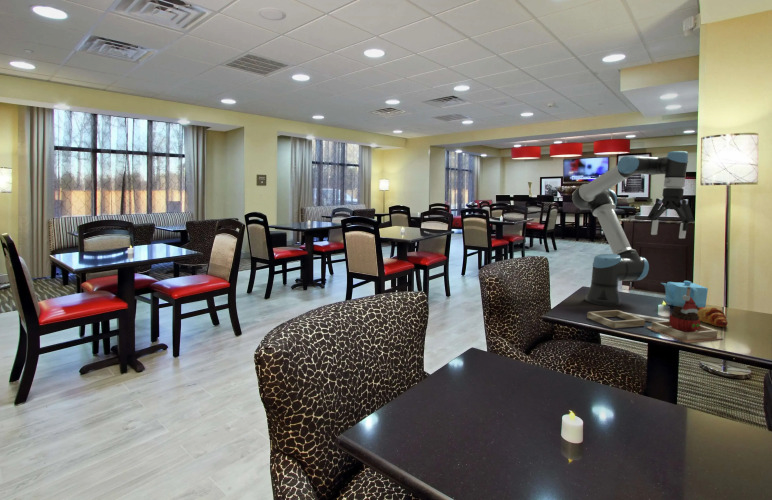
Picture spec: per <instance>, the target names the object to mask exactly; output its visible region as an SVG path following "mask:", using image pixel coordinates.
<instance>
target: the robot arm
mask: <svg viewBox="0 0 772 500" xmlns="http://www.w3.org/2000/svg"><path fill="white" fill-rule="evenodd" d="M688 160H689V153H688V151H683V150H677V151H675V150H674V151H669V152H667V155H666V156H662V157H660V156H659V157H654V156H652V157H651V156H636V155H635V156H634V155H628V156H627V155H625V156H622V157H620V158H619V161H618V162H617V165H615V166H614V167H613V168H610V169H609V170H608V171H606V172H604V173H603V174H601V175H599V176H598V177H596V178H595V179H593V180H592V181H590V182H588V183H583V184H581V185H579V186H578V187H577V188H576V189H575V190H574V191H573V193H572V194H571V196H572V197H571V200H572V202H573V205H574V206H575V207H576V208H578V209H579V210H590V212H591V214H592V216H593V217H596V218H597V219H598V222H599V224H600V226H601V229H602V230H603V234H604V236H605V238H606V240H607V243H608V245H609V247H610V250H611V252H612V253H601V254H597V255H595V256H594V258H593V263H592V272H591V282H590V287H588V288H589V289H588V292H587V293H586V295H585V301H586V302H587V303H590V304H593V305H598V306H607V307H617V306H620V305H621V297H620V292H619V290H618V289H619V288H618V287H619V282H625V281H626V282H628V281H629V282H630V281H631V282H635V281H641V280H643V279H645V278H646V277H647V275H648V273H649V270H650V264H649V261H648V260H647V258H646V257H643V256H639V253H638V251H637V250H636V249H633V248H632V246H631V245H630V241H629V240H628V238H627V235H626V233H625V231H624V229H623V227H622V225H621V223H620V220H619V218H618V216H617V215H618V214H616V208H617V204H618V201H617V200H618V196H617V194H616V192H615V191H614V190H612V189H611V188H613V187H614V186H616V185H618V184H620V183H621V182H623V181H625V180H626V179H629V178H630V177H633V176H634V175H637V174H638V175H649V176H650V175H651V176H654V175H664V181H663V187H664V188H663V189H662V197H663V198H657V197H656V199H655V201H654V204H653V206H652V208H651V209H650V212H649V214H648V216H647V219H649V220H650V227H651V229H650V231H651V232H650V235H652V236H656V235H658V230H659V229H658V228H659V218H660V217H661V216H662V214H664V213H665V212H666V211H667V210H674V211H675V212H676V214H677V216H678V217H679V218H680V220H681V223H680V226H679V233H678V239H686V234H687V231H688V230H689V224H690V223H693V222H695V219H694V216H693V213H692V209H691V207H690V200H689V199H682V198H683V197H684V191H685V190H684V189H685V183H686V174H687V170H688V169H687V168H688V163H689V161H688Z"/></svg>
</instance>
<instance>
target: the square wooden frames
mask: <svg viewBox="0 0 772 500" xmlns="http://www.w3.org/2000/svg"><path fill="white" fill-rule="evenodd" d="M586 314H587V315H586V318H587V319H589V320H592V321H594V322H597V323H599V324H602V325H603V326H607V327H609V328H611V329H621V328H633V327H642V326H643V327H644V326H645V325H646V322H650V323H651V326H646V327H645V329H648V330H650V331H652V332H656V333H659V334H661V335H664V336H666V337H669V338H672V339H675V340H677V341H680V342H682V343H685V344H689V343H690V344H691V343H700V342H709V341H711V342H712V341H719V340H724V338H723V337H721V336H718V332H719V330H716V329H713V328H711V327H707V326H704V325H701V324H700V328H699V329H698V330H697V331H698V332H688V333H684V332H682V331H679V330H676V329H673V328H670V327H669V326H670V324H671V323H670V322H669V319H670V318H669V319H668V318H662V317H656V316H649V315H643V314H638V313H631V312H625V311H622V310H620V309H619V310H618V309H614V310H613V309H611V310H599V311H598V310H597V311H587V313H586ZM610 317H611V318H613V317H619V318H620V319H623V320H615V321H614V320H612V319H608V318H610Z"/></svg>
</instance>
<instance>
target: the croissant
mask: <svg viewBox="0 0 772 500" xmlns="http://www.w3.org/2000/svg"><path fill="white" fill-rule="evenodd" d="M696 314H698V316H699V319H700V323H701V322H702V323H705V324H709V325H712V326H713V327H714V326H716V327H721V328H722V327H726V326H728V320H727V317H726V315H725V313H724V311H722V310H721V309H719V308H717V307H713V306H712V307H711V306H708V307H706V306H705V307H699V309H698V313H696Z"/></svg>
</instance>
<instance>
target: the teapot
mask: <svg viewBox="0 0 772 500" xmlns="http://www.w3.org/2000/svg"><path fill="white" fill-rule="evenodd" d="M660 284H661V285H663V286H664V290H665V299H664V301H665V302H666V303H669V305H670V307H675V306H684V304H685V300H683V299H682V297H683V295H686V294H687V287H691V288H690V295H689V296H690V297H691V298H692V299H693V300H694V302H695V304H696V305H697V306H698V307H706V304H707V297H708V291H709V288H707V287H706V286H703V285H701V284H697V283H694V282H692V281H689V280H684V281H683V282H676V281H675V282H674V281H667V283H665V282H660ZM682 308H683V307H682Z"/></svg>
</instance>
